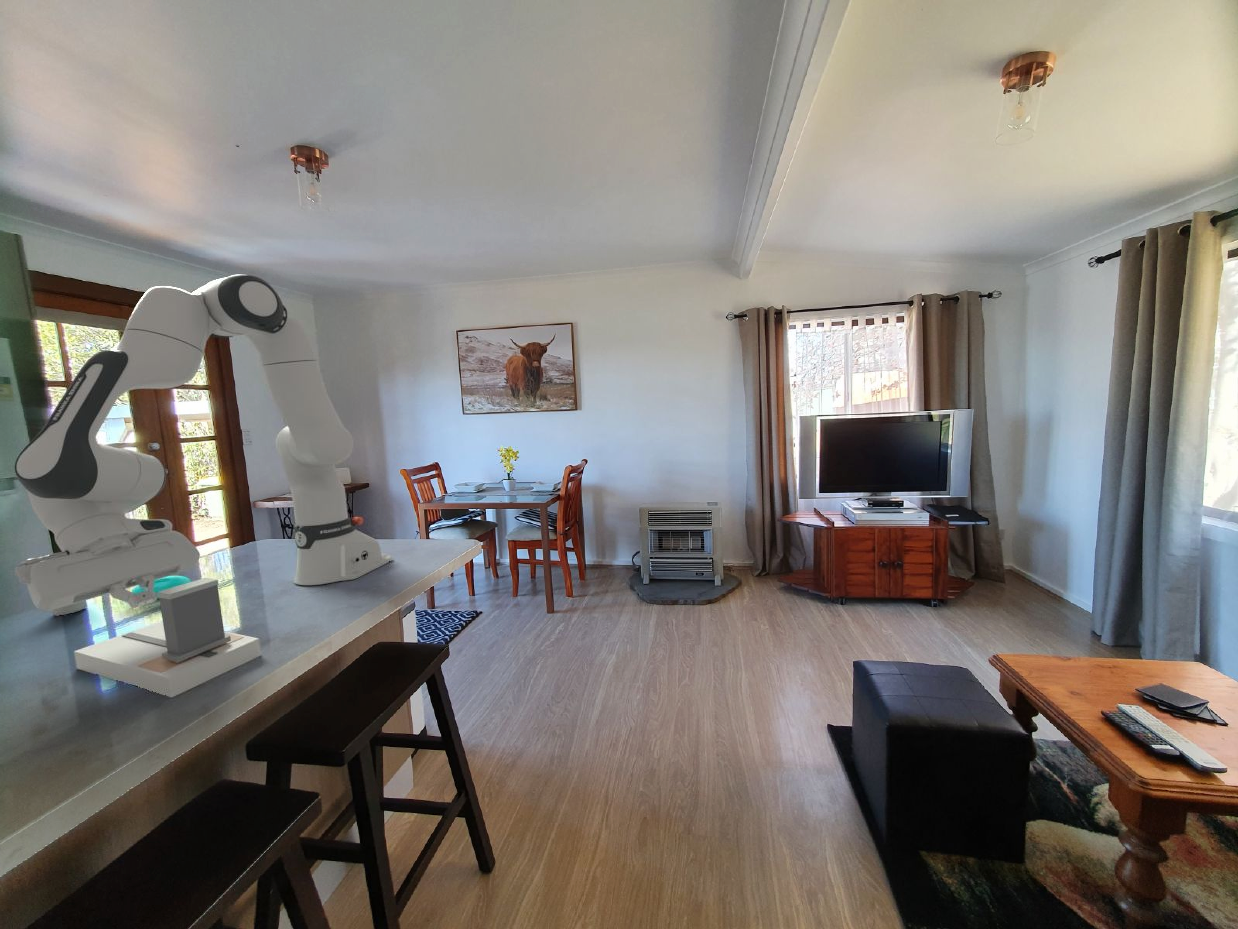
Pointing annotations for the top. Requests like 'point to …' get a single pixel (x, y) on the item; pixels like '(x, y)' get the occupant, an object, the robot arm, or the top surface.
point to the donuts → (164, 584)
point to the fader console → (162, 660)
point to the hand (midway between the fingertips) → (145, 603)
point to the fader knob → (191, 619)
